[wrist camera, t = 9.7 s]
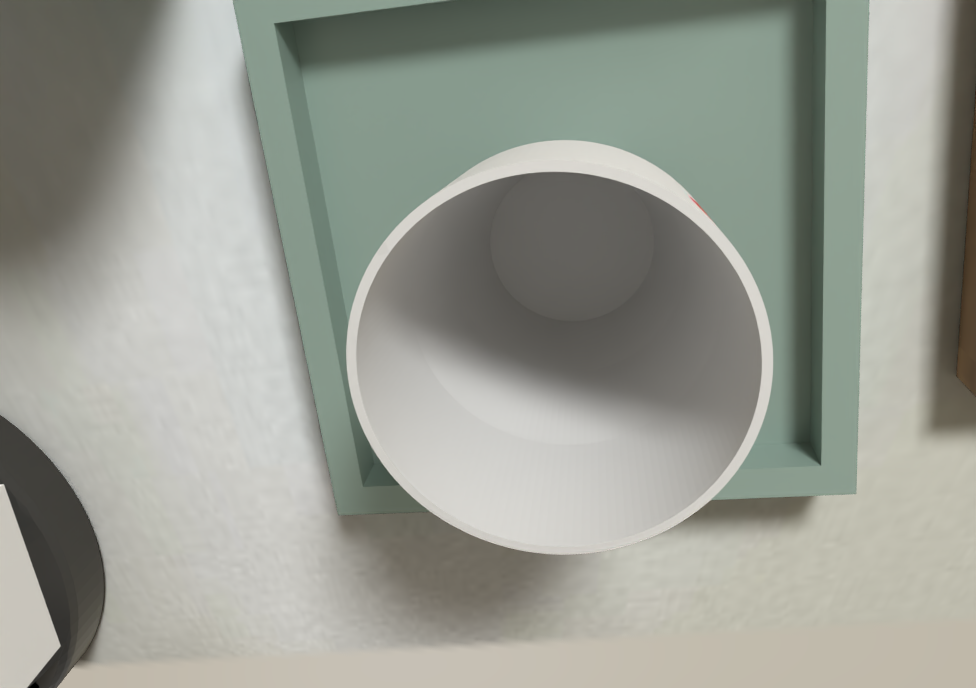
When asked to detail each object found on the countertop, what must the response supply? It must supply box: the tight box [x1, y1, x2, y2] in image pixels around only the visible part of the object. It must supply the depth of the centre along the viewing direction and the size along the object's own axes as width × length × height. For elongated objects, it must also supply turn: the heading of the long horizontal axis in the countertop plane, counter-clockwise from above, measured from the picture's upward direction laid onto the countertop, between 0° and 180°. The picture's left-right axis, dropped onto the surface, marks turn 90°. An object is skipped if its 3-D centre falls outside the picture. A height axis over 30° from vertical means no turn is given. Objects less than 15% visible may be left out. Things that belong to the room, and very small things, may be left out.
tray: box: [233, 0, 869, 515], centre depth 26 cm, size 16×16×2 cm
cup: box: [346, 140, 773, 555], centre depth 22 cm, size 8×8×10 cm
